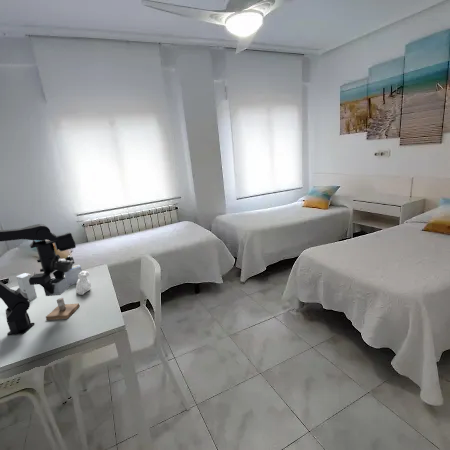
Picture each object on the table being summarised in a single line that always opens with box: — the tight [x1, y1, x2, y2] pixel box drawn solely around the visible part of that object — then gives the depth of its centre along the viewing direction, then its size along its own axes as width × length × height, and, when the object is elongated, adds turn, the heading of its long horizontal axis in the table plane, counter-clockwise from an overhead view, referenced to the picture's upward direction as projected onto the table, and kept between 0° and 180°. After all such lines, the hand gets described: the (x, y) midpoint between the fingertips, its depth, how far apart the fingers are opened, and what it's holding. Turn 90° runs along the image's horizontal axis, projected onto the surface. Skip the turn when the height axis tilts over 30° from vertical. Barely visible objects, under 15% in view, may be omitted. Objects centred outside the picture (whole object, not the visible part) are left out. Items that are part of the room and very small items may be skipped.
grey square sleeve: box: [43, 276, 70, 297], centre depth 112 cm, size 6×6×5 cm
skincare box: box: [15, 272, 37, 301], centre depth 130 cm, size 6×4×12 cm
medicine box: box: [64, 264, 83, 287], centre depth 143 cm, size 8×4×9 cm, turn 130°
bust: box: [75, 270, 92, 296], centre depth 133 cm, size 12×8×11 cm
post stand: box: [45, 297, 80, 321], centre depth 114 cm, size 9×9×6 cm
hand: (57, 289), depth 112 cm, fingers closed on grey square sleeve, 6 cm apart
